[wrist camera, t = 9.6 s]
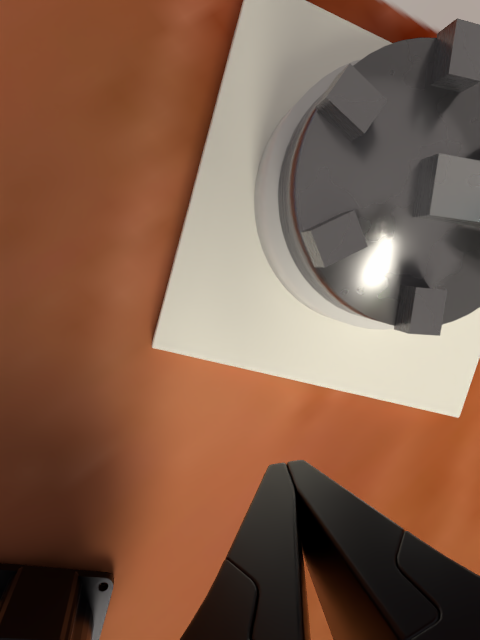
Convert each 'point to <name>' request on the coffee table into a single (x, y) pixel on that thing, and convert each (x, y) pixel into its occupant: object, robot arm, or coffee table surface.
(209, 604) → the robot arm
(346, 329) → the mounting plate
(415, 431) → the coffee table surface
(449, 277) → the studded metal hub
